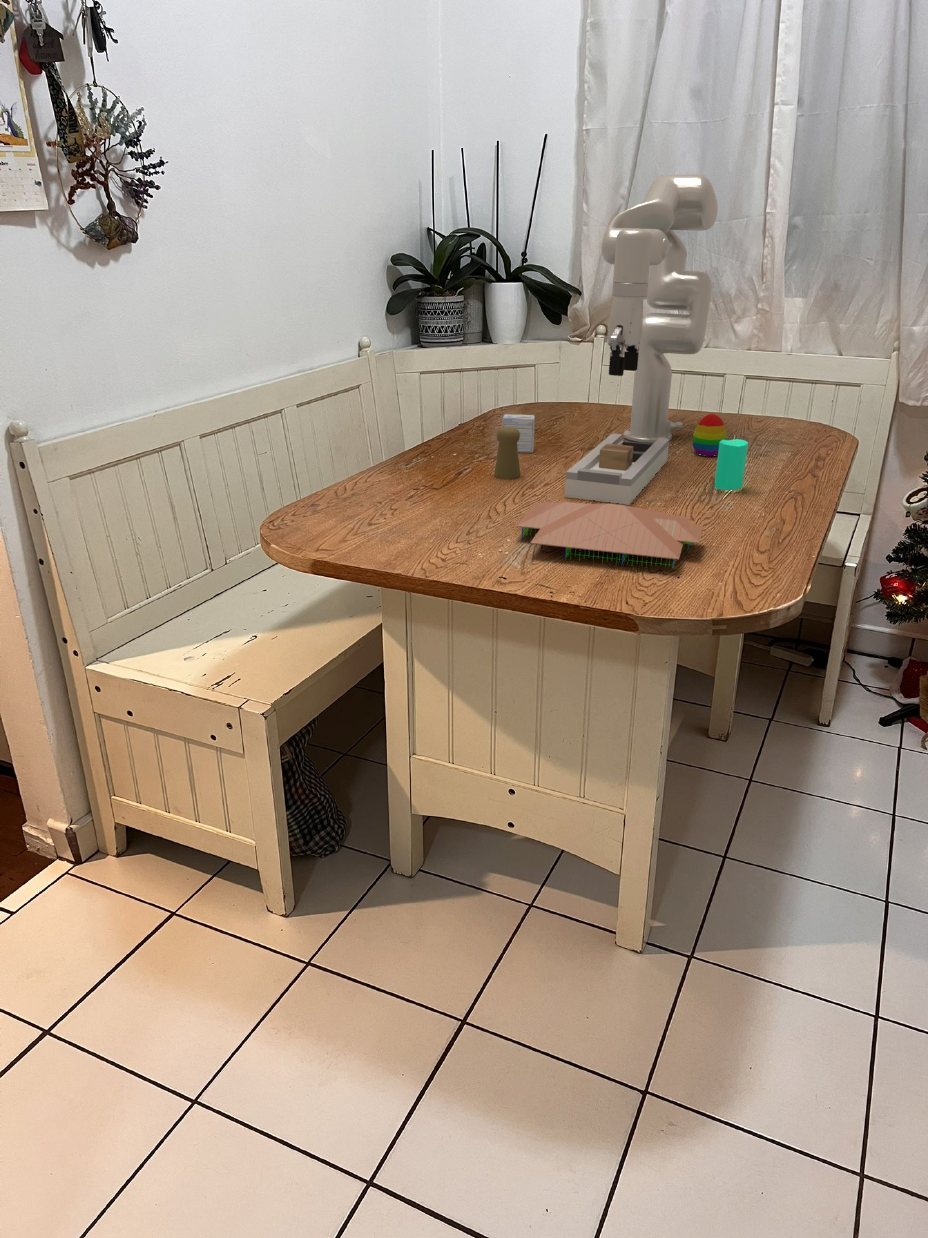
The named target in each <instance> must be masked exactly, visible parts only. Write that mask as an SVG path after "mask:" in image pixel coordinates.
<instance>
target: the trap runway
mask: <svg viewBox="0 0 928 1238" xmlns="http://www.w3.org/2000/svg"><path fill="white" fill-rule="evenodd" d="M606 444H616V445H626V446H633V458H632V464H631V465H630V466H629V468H628V469H627V470H626V471H625V470H616V469H607V468H599V456H600V449H601V448H602V447H604V446H605V445H606ZM669 445H670V440H669V439H663V438H659V439H658V440H657V441H656V442H655V443H645V442H636V441H632V440H623V434H619V433H611V434H610V435H608V437H606V438H605V439H603V441H601V442H600V443H599V444H598V445H596V446H595V447H594V448H593V449H591V450H590V451H589V452H588V453H586V454H585V455H584V456H583V457H582V458H581V459H580V460H578V461H577V462H576V463H575V464H573V466H571V467H570V468H569V469H568V470H566V471H565V486H564V487H565V488H564V498H571V499H577V498H578V499H579V500H586V501H593V500H595V502H604V503H609V502H610V503H609V504H616V503H619V504H618V505H625V506H630V505H631V504H632V503H633V501H634V500H635V499H636V498H637V497H638V496H639V495H640V494H641V492H643V490H644V489H645V488H646V486H647V485H649V483H650V482H651V481H652V479H653V478H655V476H656V475H657V474H658V473H659V472H660V470H662V468H663V467H664V466H665V465H664V464H667V463H668V457H669V456H668V454H669V447H670V446H669ZM663 465H664V466H663ZM662 466H663V467H662ZM661 467H662V468H661ZM657 472H658V473H657ZM656 473H657V474H656ZM655 474H656V475H655ZM650 480H651V481H650ZM644 487H645V488H644ZM642 489H643V490H642ZM638 494H639V495H638ZM636 496H637V497H636ZM630 503H631V504H630Z"/></svg>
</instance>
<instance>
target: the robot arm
mask: <svg viewBox="0 0 928 1238" xmlns="http://www.w3.org/2000/svg"><path fill="white" fill-rule="evenodd" d="M717 216H718V200H717V197H716V194H715V190H714V187H713V184H712V182H711V181H710V180H709V179H708V178H707V177H706V176H704V175H702V174H666V175H661V176H659V177H657V178H656V179H655V180H654V181H653V182H652V183H651V184H650V187H649V189H648V190H647V193H646V195H645V196H644V199H643V200H642V202H641V203H638V204H636V205H634V206H633V207H630V208H628V209H626V210H623V211H622V212H620V213H618V214H617V215H615V216H614V217H613V218H612V220H611V222H610V223H609V224H608V226H607V228H606V230H605V232H604V235H603V238H602V242H601V255H602V257H603V260H604V261H605V262H606V263H608V264H610V265H613V279H612V280H613V281H612V289H611V298H612V299H613V301H612V304H611V309H610V310H611V311H610V316H609V324H608V331H607V332H608V333H607V339H606V343H607V345H608V346H609V349H610V352H609V363H608V364H609V365H608V375H609V376H617V377H622V376H624V372H625V371H632V372H633V371H634V377H633V386H632V387H633V388H632V398H631V399H632V400H631V401H632V402H631V413H630V426H629V429H626V430H624V432H623V438H624V439H626V440H627V441H632V442H641V443H651V444H654V443H655V442H656V441H657V440H658V439H659V438H663V439H669V441H671V440H672V438H673V437H672V433H671V432H672V431H673V430H681V429H682V428H683V422H682V421H674V422H673V421H672V420H670V419H669V416H668V415H669V407H670V396H671V386H672V377H673V370H672V367H671V364H670V362H669V360H668V359H667V358H666V355H665V354H673V355H674V354H676V355H696V354H698V353H700V351H702V348H703V346H704V345H703V344H704V341H705V337H706V330H707V324H708V319H709V312H710V306H711V298H712V279H711V277H710V276H709V274H707V273H706V272H704V271H700V270H699V271H697V270H686V269H685V268H686V263H687V258H688V257H687V256H688V250H687V248H686V246H685V244H684V243H683V241H682V240H681V238H680V237H679V236H678V235H677V233H676V232H675V231H692V232H693V231H694V232H695V231H697V232H699V231H708V230H710V229H711V228H712V227H713V226H714V224H715V222H716V220H717ZM644 300H646V301H647V304H648V305H649V307H650V308H652V309H655V310H661V311H662V310H663V311H676V312H678V311H680V312H688V313H689V314H682V313H681V314H679V313H677V314H676V313H665V312H664V313H663V312H651V313H650V312H649V313H646V314H644Z"/></svg>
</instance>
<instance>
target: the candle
mask: <svg viewBox="0 0 928 1238" xmlns="http://www.w3.org/2000/svg"><path fill="white" fill-rule="evenodd" d="M733 436H734V437H733V439H730V440H728V439H727V440H722V441H720V443H719V451H718V456H717V459H716V460H717V461H716V469H715V476H714V486H715V487H716V488H717V489H721V490H737V489H741V488H742V489H743V484H744V477H745V469H746V463H747V457H748V456H747V455H748V447H749V442H748V441H746V440H744V439H738V438H736V435H735V434H734V435H733ZM735 438H736V439H735ZM714 486H713V487H714Z"/></svg>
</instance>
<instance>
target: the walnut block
mask: <svg viewBox="0 0 928 1238" xmlns="http://www.w3.org/2000/svg"><path fill="white" fill-rule="evenodd" d="M632 458H633V446H626V445H616V444H606V445H605V446H604V447H602V448H601V449H600V456H599V468H607V469H616V470H625V471H626V470H627V469H628V468H629V466H630V465H631V464H632Z"/></svg>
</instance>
